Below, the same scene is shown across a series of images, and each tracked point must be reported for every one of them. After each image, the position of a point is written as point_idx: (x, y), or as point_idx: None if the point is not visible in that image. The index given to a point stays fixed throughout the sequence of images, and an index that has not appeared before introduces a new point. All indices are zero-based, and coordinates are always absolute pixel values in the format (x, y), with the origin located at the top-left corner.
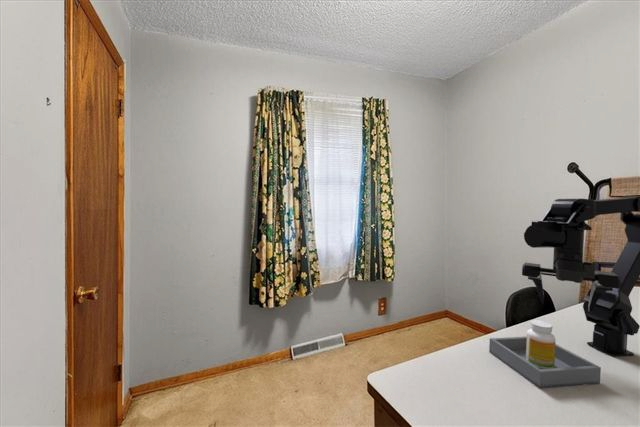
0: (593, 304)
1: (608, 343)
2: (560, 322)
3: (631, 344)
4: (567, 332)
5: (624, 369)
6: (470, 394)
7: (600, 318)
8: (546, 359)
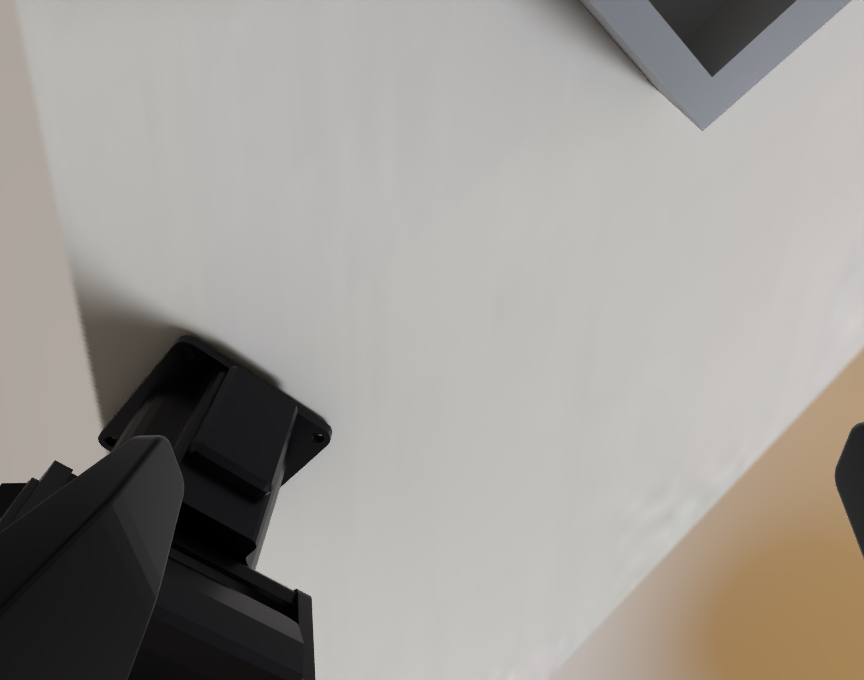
0: (13, 545)
1: (191, 410)
2: (470, 649)
3: None
4: (438, 539)
5: (100, 153)
6: None
7: (170, 568)
8: None
